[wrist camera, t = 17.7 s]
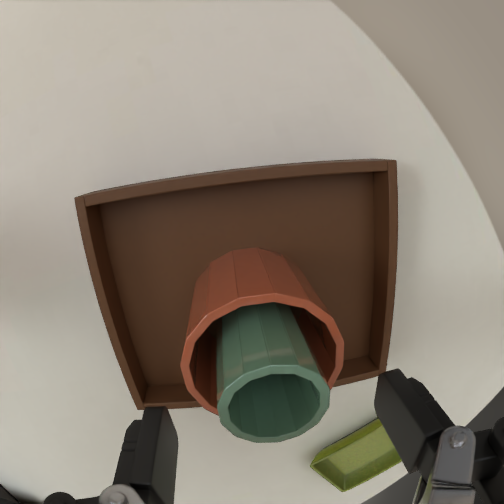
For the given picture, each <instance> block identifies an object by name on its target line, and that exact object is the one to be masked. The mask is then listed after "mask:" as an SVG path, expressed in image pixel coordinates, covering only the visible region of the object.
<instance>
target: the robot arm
mask: <svg viewBox="0 0 504 504" xmlns="http://www.w3.org/2000/svg"><path fill="white" fill-rule="evenodd" d="M374 406H375V411H376V414H377V416H378V418H379V420H380V422H381V423H382V425H383V427H384V429H385V431H386V432H387V434H388V436H389V438H390V440H391V441H392V443H393V445H394V447H395V449H396V451H397V452H398V454H399V456H400V458H401V460H402V462H403V463H404V465H405V467H406V469H407V471H408V473H409V474H411V473H413V472H416V471H418V470H419V471H420V473H421V478H420V480H419V484H418V487H417V490H416V494H415V497H414V500H413V503H412V504H473V502H474V497H475V489H476V491H477V493H478V495H479V497H480V499H481V500H482V502H483V504H504V417H503V418H500V419H499V420H498V421H497V422H496V423H495V425H494V427H493V429H488V430H483V431H478V432H472V431H471V430H470V429H468V428H466V427H463V426H455V425H454V424H453V422H452V421H451V420H450V418H449V417H448V416H447V414H446V413H445V412H444V411H443V409H442V408H441V407H440V405H439V404H438V403H437V402H436V401H435V400H434V398H433V396H432V395H431V394H429V391H428V390H427V389H426V387H425V386H424V385H423V384H422V383H421V382H419V381H417V380H416V379H414V378H412V377H411V378H408V379H407V378H406V377H405V375H404V374H403V373H402V372H401V370H400V369H394V370H391V371H387V372H383V373H380V374H379V377H378V382H377V388H376V394H375V400H374ZM177 455H178V436H177V432H176V429H175V427H174V424H173V422H172V419H171V417H170V414H169V412H168V409H167V407H166V406H150V407H145V410H144V414H143V418H142V420H134V421H133V422H132V423H131V425H130V426H129V427H128V428H127V430H126V433H125V437H124V442H123V445H122V451H121V453H120V457H119V461H118V465H117V469H116V473H115V477H114V481H113V484H112V486H109V487H107V488H106V489H105V490H103V492H102V493H101V494H100V496H97V497H93V498H86V499H78V500H75V499H74V498H73V497H72V496H71V495H69V494H68V493H64V492H56V493H53V494H51V495H49V496H48V497H47V498H46V499H45V501H44V503H43V504H174V492H175V479H176V467H177ZM471 482H472V484H473V486H471Z"/></svg>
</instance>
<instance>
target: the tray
mask: <svg viewBox="0 0 504 504" xmlns="http://www.w3.org/2000/svg"><path fill="white" fill-rule="evenodd" d="M75 205H76V210H77V216H78V221H79V226H80V231H81V236H82V240H83V245H84V249H85V253H86V258H87V262H88V266H89V270H90V274H91V278H92V281H93V285H94V289H95V292H96V296H97V299H98V303H99V306H100V309H101V313H102V316H103V319H104V322H105V325H106V328H107V331H108V334H109V337H110V340H111V343H112V346H113V349H114V352H115V355H116V357H117V360H118V363H119V365H120V368H121V371H122V373H123V376H124V378H125V381H126V383H127V386H128V388H129V391H130V393H131V396H132V398H133V400H134V403H135V405H136V407H137V409H138V410H145V407H150V406H166V407H167V409H176V408H192V407H202V406H201V405H200V403H199V402H198V401H197V400H196V399H195V398H194V397H193V396H192V395H191V394H190V393H189V391H188V390H187V388H186V385H185V381H184V378H183V374H182V371H181V367H180V362H181V355H182V349H183V343H184V337H185V331H186V326H187V320H188V314H189V309H190V303H191V299H192V295H193V291H194V287H195V283H196V280H197V279H198V278H199V276H200V275H201V274H202V272H203V271H204V270H205V269H206V267H207V266H208V265H209V264H210V263H211V262H212V261H214V260H216V259H217V258H219V257H221V256H223V255H225V254H227V253H228V252H230V251H233V250H239V249H247V248H255V247H259V248H262V249H266V250H270V251H274V252H278V253H281V254H282V255H284V256H285V257H286V258H287V259H289V260H290V261H291V262H293V263H294V264H295V265H296V266H298V267H299V268H300V270H301V271H302V273H303V274H304V276H305V277H306V279H307V280H308V282H309V283H310V285H311V286H312V287H313V289H314V290H315V292H316V293H317V295H318V296H319V298H320V299H321V301H322V302H323V304H324V305H325V307H326V308H327V310H328V311H329V313H330V314H331V316H332V317H333V319H334V321H335V323H336V325H337V327H338V329H339V331H340V333H341V335H342V338H343V340H344V358H343V368H342V370H341V372H340V374H339V375H338V377H337V379H336V381H335V383H334V385H333V387H336V386H340V385H345V384H349V383H353V382H357V381H361V380H365V379H369V378H373V377H376V376H379V374H380V373H383V372H386V366H387V359H388V352H389V345H390V337H391V329H392V320H393V310H394V298H395V285H396V269H397V245H398V187H397V163H396V160H387V159H354V160H334V161H317V162H303V163H290V164H279V165H268V166H258V167H248V168H239V169H230V170H222V171H214V172H207V173H199V174H192V175H185V176H178V177H172V178H165V179H159V180H153V181H147V182H141V183H136V184H130V185H125V186H119V187H114V188H109V189H104V190H99V191H94V192H90V193H87V194H84V195H81V196H78V197H75ZM292 308H293V310H294V312H295V314H296V316H297V318H298V319H299V317H300V314H301V312H302V309H303V308H300V307H295V306H292ZM207 330H208V332H209V333H210V334H211V336H212V337H214V338H216V336H217V319H216V320H214V321H213V322H212V323H211V324H210V326H209V327H208V328H207Z"/></svg>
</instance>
